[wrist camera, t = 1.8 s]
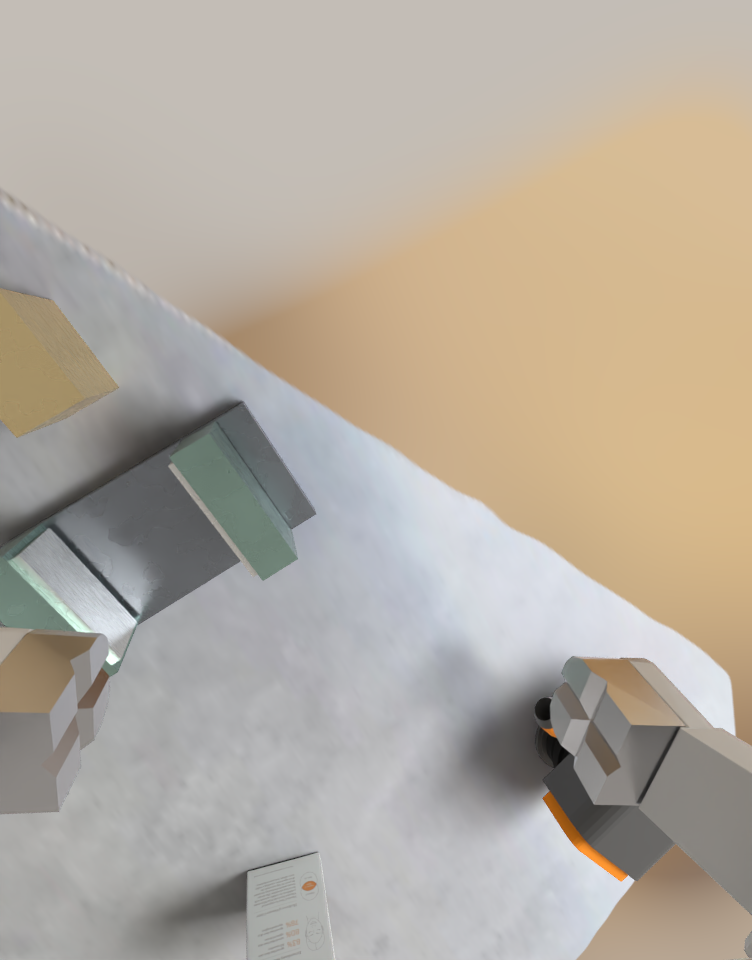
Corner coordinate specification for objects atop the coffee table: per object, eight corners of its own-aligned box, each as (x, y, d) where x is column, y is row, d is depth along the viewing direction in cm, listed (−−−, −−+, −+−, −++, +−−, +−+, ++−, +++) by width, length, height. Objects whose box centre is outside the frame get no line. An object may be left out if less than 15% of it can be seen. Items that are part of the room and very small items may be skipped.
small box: (250, 911, 53) (251, 1080, 41) (246, 869, 51) (244, 1032, 39) (322, 890, 55) (343, 1046, 43) (320, 850, 53) (341, 1000, 41)
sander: (545, 605, 52) (633, 682, 40) (648, 714, 61) (744, 803, 49) (450, 699, 52) (509, 803, 40) (566, 793, 61) (642, 901, 49)
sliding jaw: (256, 552, 40) (256, 584, 34) (175, 444, 36) (162, 461, 31) (291, 530, 40) (297, 558, 35) (215, 420, 36) (209, 433, 31)
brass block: (66, 418, 35) (16, 437, 28) (-5, 332, 33) (-80, 328, 25) (119, 387, 36) (84, 398, 28) (53, 300, 33) (-4, 287, 26)
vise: (104, 638, 40) (74, 699, 33) (8, 540, 36) (-49, 586, 29) (314, 508, 42) (326, 540, 35) (243, 401, 38) (242, 413, 31)
